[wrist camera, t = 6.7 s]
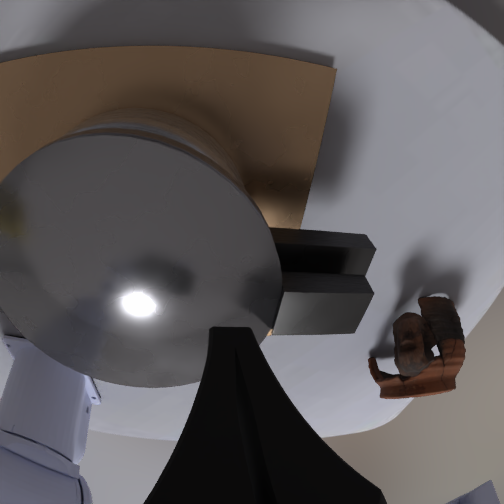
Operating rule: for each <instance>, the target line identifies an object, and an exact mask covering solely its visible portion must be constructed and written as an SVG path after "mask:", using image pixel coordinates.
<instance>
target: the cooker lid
mask: <svg viewBox="0 0 504 504" xmlns="http://www.w3.org/2000/svg"><path fill="white" fill-rule="evenodd" d="M373 295H374V292H373V290H372V288H371V286H370V285H369V283H368V281H367V279H366V277H365V276H364V275H356V274H330V273H305V272H283V271H281V267H280V261H279V257H278V253H277V250H276V246H275V243H274V240H273V237H272V234H271V231H270V229H269V226H268V224H267V222H266V220H265V218H264V216H263V214H262V212H261V210H260V209H259V207H258V205H257V204H256V203H255V201H254V200H253V199H252V197H251V196H250V195H249V193H248V192H247V191H246V189H245V188H244V187H243V186H242V185H241V184H240V183H239V182H238V181H237V180H236V179H235V178H234V177H233V176H232V175H231V174H230V173H229V172H227V171H226V170H225V169H224V168H222V167H221V166H220V165H218V164H217V163H216V162H214V161H213V160H212V159H210V158H209V157H207V156H205V155H204V154H202V153H200V152H198V151H196V150H195V149H193V148H191V147H189V146H187V145H185V144H183V143H180V142H178V141H175V140H172V139H170V138H167V137H165V136H162V135H158V134H154V133H149V132H145V131H140V130H134V129H121V128H103V129H92V130H85V131H81V132H77V133H73V134H69V135H66V136H63V137H61V138H59V139H57V140H54V141H52V142H50V143H48V144H46V145H44V146H43V147H41V148H40V149H38V150H37V151H35V152H34V153H32V154H31V155H30V156H28V157H27V158H26V159H24V160H23V161H22V162H20V163H19V164H18V165H17V166H16V167H15V168H14V169H13V170H12V171H11V172H10V173H9V174H8V175H7V176H6V177H5V178H4V179H3V180H2V182H1V183H0V311H1V312H4V313H5V315H6V316H7V317H8V318H9V320H10V321H11V322H12V324H13V325H14V326H15V327H16V328H17V329H18V330H19V331H20V333H21V334H22V335H23V336H24V337H25V338H26V339H28V340H29V341H30V342H31V343H32V344H33V345H34V346H36V347H37V348H38V349H39V350H41V351H42V352H44V353H45V354H46V355H48V356H49V357H51V358H52V359H54V360H56V361H57V362H59V363H61V364H62V365H64V366H66V367H68V368H70V369H72V370H74V371H77V372H79V373H82V374H84V375H87V376H89V377H92V378H95V379H99V380H102V381H105V382H110V383H114V384H119V385H125V386H132V387H146V388H160V387H173V386H181V385H186V384H191V383H196V382H199V381H201V378H202V375H203V371H204V367H205V363H206V358H207V350H208V337H209V328H211V327H213V326H218V327H250V328H251V329H252V330H253V333H254V335H255V338H256V340H257V342H258V344H259V345H260V344H261V342H262V341H263V340H264V339H265V337H266V336H267V334H268V333H269V331H270V329H271V333H272V335H323V334H351V333H355V331H356V329H357V327H358V325H359V323H360V321H361V320H362V318H363V316H364V314H365V312H366V310H367V308H368V306H369V304H370V302H371V300H372V297H373Z"/></svg>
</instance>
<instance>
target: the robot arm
mask: <svg viewBox="0 0 504 504" xmlns="http://www.w3.org/2000/svg"><path fill="white" fill-rule="evenodd" d="M2 340H3V342H4V344H5V346H6V348H7V349H8V351H9V353H10V355H11V356H12V358H13V360H14V362H13V365H12V368H11V371H10V374H9V377H8V379H7V382H6V385H5V389H4V392H3V395H2V398H1V401H0V504H93V503H92V496H91V491H90V489H89V487H88V485H87V482H86V481H85V479H84V478H83V477H82V476H81V475H79V469H80V466H79V465H77V464H78V463H79V462H80V460H81V459H82V457H83V456H84V453H85V448H86V440H87V433H88V426H89V419H90V412H91V406H92V404H96V405H100V404H101V399H100V397H99V395H98V393H97V390H96V388H95V386H94V384H93V381H92V379H91V377H89V376H87V375H84V374H82V373H79V372H77V371H74V370H72V369H70V368H68V367H66V366H64V365H62V364H61V363H59V362H57V361H56V360H54V359H52V358H51V357H49V356H48V355H46V354H45V353H44V352H42V351H41V350H39V349H38V348H37V347H36V346H34V345H33V344H32V343H31V342H30V341H29V340H28V339H23V338H18V337H12V336H7V335H4V336H3V339H2ZM144 504H387V502H386V500H385V498H384V495H383V493H382V491H381V489H379V488H378V487H377V486H375V485H374V484H372V483H371V482H370V481H368V480H367V479H365V478H364V477H363V476H361V475H360V474H359V473H358V472H356V471H355V470H354V469H353V468H352V467H351V466H349V465H348V464H347V463H346V462H345V461H343V459H342V458H340V457H339V456H338V455H337V454H336V453H335V452H334V451H333V450H332V449H331V448H330V447H329V446H328V445H327V444H326V443H325V442H324V441H323V440H322V439H321V438H320V437H319V435H318V434H317V433H316V432H315V431H314V430H313V429H312V428H311V426H310V425H309V424H308V423H307V421H306V420H305V419H304V418H303V416H302V415H301V414H300V413H299V411H298V410H297V409H296V407H295V406H294V404H293V403H292V402H291V400H290V399H289V397H288V396H287V394H286V393H285V391H284V390H283V388H282V387H281V385H280V383H279V382H278V380H277V378H276V377H275V375H274V373H273V371H272V370H271V368H270V366H269V364H268V363H267V361H266V359H265V357H264V355H263V353H262V351H261V349H260V347H259V344H258V342H257V340H256V338H255V335H254V333H253V330H252V329H251V328H250V327H218V326H213V327H211V328H209V337H208V350H207V358H206V363H205V367H204V371H203V375H202V378H201V382H200V385H199V388H198V391H197V394H196V397H195V400H194V403H193V406H192V409H191V412H190V414H189V417H188V419H187V422H186V424H185V427H184V429H183V431H182V434H181V436H180V438H179V440H178V443H177V445H176V447H175V449H174V451H173V453H172V455H171V457H170V459H169V461H168V463H167V465H166V466H165V469H164V470H163V472H162V474H161V475H160V477H159V479H158V481H157V483H156V484H155V486H154V488H153V490H152V491H151V493H150V494H149V496H148V497H147V499H146V500H145V502H144ZM446 504H500V502H499V499H498V497H497V494H496V491H495V488H494V486H493V483H492V481H491V480H489V481H487V482H486V483H484V484H482V485H480V486H479V487H477V488H475V489H474V490H472V491H470V492H469V493H466V494H464V495H462V496H460V497H458V498H456V499H454V500H452V501H450V502H448V503H446Z"/></svg>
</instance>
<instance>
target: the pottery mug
mask: <svg viewBox="0 0 504 504" xmlns="http://www.w3.org/2000/svg"><path fill="white" fill-rule="evenodd" d="M418 304H419V306H420V308H421V315H422V316H420V315H418V314H416V313H410V312H406V313H404V314H403V315H401V316H400V317H399V318H398V319H397V320H396V321H395V322H394V323H393V335H394V342H395V348H394V354H395V359H394V362H395V365H396V366H397V368H398V370H399V373H400V374H395V375H392V374H388V373H386V372H382V371H379V369H378V366H377V362H376V359H375V358H374V357H371V358H369V359H368V362H369V369H370V373H371V375H372V377H373V379H374V380H375V382H376V383H377V384H378V385H379V386H380V388H381V391H380V398H385V399H400V398H409V397H421V396H428V395H435V394H441V393H444V392H449V391H452V390H453V389H455V388H456V384H455V377H456V375H457V374H458V372H459V371H460V368H461V367H462V365H463V361H464V359H465V352H466V349H465V347H464V344H465V341H464V338H465V337H464V335H463V329H462V328H461V322H460V317H459V316H458V313H457V312H456V309H455V307H454V303H453V301H451V300H450V299H447V298H446V297H435V296H434V297H425V298H419V299H418ZM435 345H437V347H438V350H439V352H440V355H439V356H435V357H434V353H433V351H432V350H431V349H432V348H433V347H434V346H435Z"/></svg>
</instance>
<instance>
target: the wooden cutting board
mask: <svg viewBox="0 0 504 504" xmlns="http://www.w3.org/2000/svg"><path fill="white" fill-rule="evenodd" d="M336 71H337V69H335V68H331V67H327V66H323V65H318V64H314V63H309V62H304V61H299V60H294V59H289V58H284V57H278V56H272V55H265V54H259V53H252V52H244V51H236V50H226V49H216V48H203V47H186V46H118V47H101V48H89V49H79V50H70V51H62V52H55V53H48V54H42V55H36V56H31V57H25V58H20V59H16V60H11V61H7V62H2V63H0V183H1V182H2V180H3V179H4V178H5V177H6V176H7V175H8V174H9V173H10V172H11V171H12V170H13V169H14V168H15V167H16V166H17V165H18V164H19V163H20V162H22V161H23V160H24V159H26V158H27V157H28V156H30V155H31V154H32V153H34V152H35V151H37V150H38V149H40V148H41V147H43V146H44V145H46V144H48V143H50V142H52V141H54V140H57V139H59V138H61V137H63V136H66V135H69V134H73V133H77V132H81V131H85V130H92V129H103V128H121V129H134V130H140V131H145V132H149V133H154V134H158V135H162V136H165V137H167V138H170V139H172V140H175V141H178V142H180V143H183V144H185V145H187V146H189V147H191V148H193V149H195V150H196V151H198V152H200V153H202V154H204V155H205V156H207V157H209V158H210V159H212V160H213V161H214V162H216V163H217V164H218V165H220V166H221V167H222V168H224V169H225V170H226V171H227V172H229V173H230V174H231V175H232V176H233V177H234V178H235V179H236V180H237V181H238V182H239V183H240V184H241V185H242V186H243V187H244V188H245V189H246V191H247V192H248V193H249V195H250V196H251V197H252V199H253V200H254V201H255V203H256V204H257V205H258V207H259V209H260V210H261V212H262V214H263V216H264V218H265V220H266V222H267V224H268V226H269V229H270V231H271V234H272V237H273V240H274V243H275V246H276V250H277V253H278V257H279V261H280V267H281V271H283V272H305V273H330V274H356V275H364V276H365V275H366V273H367V270H368V268H369V266H370V263H371V261H372V258H373V256H374V254H375V251H376V248H375V247H374V245H373V244H372V242H371V241H370V240H369V238H368V237H367V235H365V234H354V233H342V232H329V231H317V230H304V229H300V227H301V223H302V219H303V215H304V211H305V207H306V203H307V199H308V195H309V191H310V187H311V183H312V179H313V175H314V170H315V166H316V162H317V158H318V154H319V149H320V145H321V141H322V136H323V132H324V127H325V123H326V118H327V114H328V109H329V105H330V100H331V95H332V91H333V86H334V81H335V76H336ZM267 336H271V329H270V331H269V333H268V334H267Z"/></svg>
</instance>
